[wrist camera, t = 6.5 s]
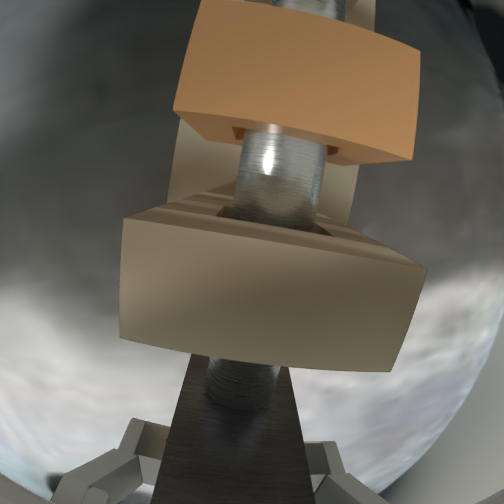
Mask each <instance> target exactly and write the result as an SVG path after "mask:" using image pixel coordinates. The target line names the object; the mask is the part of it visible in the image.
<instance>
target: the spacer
mask: <svg viewBox="0 0 504 504" xmlns="http://www.w3.org/2000/svg"><path fill="white" fill-rule="evenodd" d="M419 85H420V51H419V50H417V49H415V48H413V47H410V46H408V45H406V44H403V43H401V42H399V41H396V40H394V39H391V38H389V37H386V36H384V35H381V34H378V33H375V32H373V31H370V30H367V29H364V28H361V27H358V26H355V25H352V24H349V23H345V22H342V21H338V20H335V19H331V18H328V17H324V16H320V15H316V14H312V13H307V12H303V11H298V10H293V9H288V8H283V7H277V6H271V5H265V4H257V3H250V2H241V1H231V0H201V3H200V6H199V9H198V13H197V16H196V19H195V22H194V26H193V29H192V33H191V36H190V40H189V43H188V47H187V51H186V55H185V59H184V62H183V66H182V71H181V75H180V79H179V83H178V87H177V92H176V96H175V101H174V106H173V111H174V112H175V113H176V114H177V115H178V116H179V117H181V118H182V119H183V120H184V121H185V122H186V123H187V124H188V125H190V126H191V127H192V128H193V129H194V130H195V131H196V132H197V133H198V134H199V135H201V136H202V137H203V138H204V139H205V140H206V141H213V142H220V143H227V144H234V145H240V146H242V144H243V138H244V133H245V128H246V129H253V130H258V131H264V132H270V133H275V134H280V135H286V136H291V137H295V138H300V139H305V140H309V141H314V142H318V143H322V144H327V145H329V147H328V153H327V159H326V162H327V163H332V164H336V165H340V166H351V165H361V164H371V163H382V162H395V161H409V160H412V158H413V151H414V143H415V134H416V125H417V114H418V102H419Z"/></svg>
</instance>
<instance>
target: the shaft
mask: <svg viewBox="0 0 504 504" xmlns="http://www.w3.org/2000/svg"><path fill="white" fill-rule="evenodd" d="M346 4H347V0H271V3H270V5H271V6H277V7H283V8H288V9H293V10H298V11H303V12H307V13H312V14H316V15H320V16H324V17H328V18H331V19H335V20H338V21H342V22H345V16H346ZM328 147H329V145H327V144H322V143H318V142H314V141H309V140H305V139H300V138H295V137H291V136H286V135H280V134H275V133H270V132H264V131H258V130H253V129H246V128H245V133H244V138H243V144H242V150H241V155H240V161H239V167H238V172H237V178H236V184H235V190H234V196H233V202H232V208H231V214H230V219H235V220H241V221H247V222H253V223H259V224H264V225H270V226H276V227H282V228H287V229H293V230H299V231H304V232H310V233H313V228H314V223H315V218H316V213H317V208H318V203H319V197H320V192H321V187H322V181H323V176H324V170H325V164H326V159H327V153H328ZM150 504H316V502H315V497H314V491H313V486H312V481H311V476H310V471H309V466H308V461H307V456H306V451H305V446H304V441H303V436H302V431H301V426H300V421H299V416H298V411H297V407H296V402H295V397H294V392H293V387H292V382H291V378H290V373H289V368H288V367H284V366H274V365H265V364H257V363H249V362H242V361H235V360H228V359H221V358H215V357H209V356H203V355H197V354H191V358H190V361H189V364H188V368H187V371H186V375H185V378H184V381H183V385H182V388H181V392H180V395H179V399H178V402H177V406H176V409H175V413H174V417H173V420H172V424H171V427H170V431H169V435H168V438H167V442H166V446H165V449H164V453H163V457H162V461H161V464H160V468H159V472H158V476H157V480H156V484H155V488H154V492H153V495H152V499H151V503H150Z"/></svg>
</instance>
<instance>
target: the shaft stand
mask: <svg viewBox="0 0 504 504" xmlns="http://www.w3.org/2000/svg"><path fill="white" fill-rule="evenodd" d="M231 1H241V2H250V3H257V4H265V5H270V3H271V0H231ZM375 1H376V0H347V4H346V16H345V23H349V24H352V25H355V26H358V27H361V28H364V29H367V30H370V31H373V32H374V29H375ZM241 150H242V146H240V145H234V144H227V143H220V142H213V141H206V140H205V139H204V138H203V137H202V136H201V135H199V134H198V133H197V132H196V131H195V130H194V129H193V128H192V127H191V126H190V125H188V124H187V123H186V122H185V121H184V120H183V119H182V118H181V119H180V124H179V129H178V134H177V140H176V145H175V151H174V157H173V163H172V169H171V176H170V182H169V189H168V196H167V203H166V204H163V205H160V206H157V207H154V208H151V209H148V210H145V211H142V212H139V213H136V214H133V215H130V216H128V217H125V218H124V219H123V231H122V244H121V262H120V290H119V329H120V338H122V339H126V340H130V341H135V342H139V343H143V344H148V345H152V346H157V347H161V348H166V349H171V350H176V351H181V352H187V353H192V354H197V355H203V356H209V357H215V358H221V359H228V360H235V361H242V362H249V363H257V364H265V365H274V366H284V367H294V368H305V369H319V370H334V371H356V372H391V370H392V368H393V366H394V363H395V361H396V358H397V356H398V354H399V351H400V349H401V346H402V344H403V341H404V339H405V336H406V333H407V331H408V328H409V325H410V323H411V320H412V317H413V314H414V311H415V308H416V305H417V302H418V299H419V296H420V293H421V290H422V287H423V283H424V280H425V277H426V273H427V270H428V269H426V268H425V267H423V266H421V265H419V264H417V263H416V262H414V261H412V260H410V259H408V258H407V257H405V256H403V255H401V254H399V253H397V252H396V251H394V250H392V249H390V248H388V247H386V246H384V245H382V244H381V243H379V242H377V241H375V240H373V239H371V238H369V237H367V236H365V235H363V234H361V233H359V232H357V231H355V230H353V229H352V228H350V227H348V222H349V217H350V212H351V208H352V202H353V197H354V192H355V187H356V181H357V176H358V170H359V165H351V166H340V165H336V164H332V163H327V162H326V164H325V170H324V176H323V181H322V187H321V192H320V197H319V203H318V208H317V213H316V218H315V223H314V228H313V233H310V232H304V231H299V230H293V229H287V228H282V227H276V226H270V225H264V224H259V223H253V222H247V221H241V220H235V219H230V214H231V208H232V202H233V196H234V190H235V184H236V178H237V172H238V167H239V161H240V155H241Z"/></svg>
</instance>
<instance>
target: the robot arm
mask: <svg viewBox="0 0 504 504" xmlns="http://www.w3.org/2000/svg"><path fill="white" fill-rule="evenodd" d="M169 431H170V427H168V426H164V425H160V424H156V423H152V422H148V421H144V420H140V419H137V418H132V419H131V420H130V422H129V424H128V427H127V429H126V431H125V434H124V436H123V438H122V441H121V443H120V446H119V448H118V449H112V450H110V451H108V452H106V453H105V454H103V455H101V456H99V457H97V458H95V459H93V460H91V461H89V462H87V463H85V464H84V465H82V466H80V467H78V468H76V469H74V470H71V471H69V472H67V473H65V474H64V475H63V477H62V479H61V481H60V483H59V485H58V487H57V489H56V491H55V493H54V495H53V497H52V499H51V501H50V500H48V499H46V498H44V497H42V496H40V495H38V494H36V493H35V492H33V491H31V490H29V489H27V488H25V487H24V486H22V485H20V484H18V483H17V482H15V481H13V480H12V479H10V478H8V477H7V476H5V475H4V474H2V473H1V472H0V504H118V503H119V502H120V501H122V500H123V499H124V498H125V497H127V496H128V495H129V494H131V493H132V492H133V491H135V490H136V489H137V488H138V487H140V486H141V485H142V483H145V484H150V485H154V486H155V484H156V480H157V476H158V472H159V468H160V464H161V461H162V457H163V453H164V449H165V446H166V442H167V438H168V435H169ZM304 446H305V451H306V456H307V461H308V466H309V471H310V476H311V481H312V486H313V491H314V497H315V502H316V504H390V503H388V502H387V501H385V500H384V499H383V498H381V497H380V496H379V495H377V494H376V493H374V492H373V491H372V490H370V489H369V488H368V487H366V486H365V485H364V484H363V483H361V482H360V481H359V480H357V479H356V478H355V477H354V476H352V475H351V474H350V473H345V470H344V466H343V463H342V460H341V457H340V454H339V451H338V447H337V444H336V442H335V441H321V442H320V441H304ZM476 504H504V489H502V490H501V491H499V492H497V493H495V494H493V495H491V496H490V497H488V498H486V499H484V500H482V501H480V502H478V503H476Z"/></svg>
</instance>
